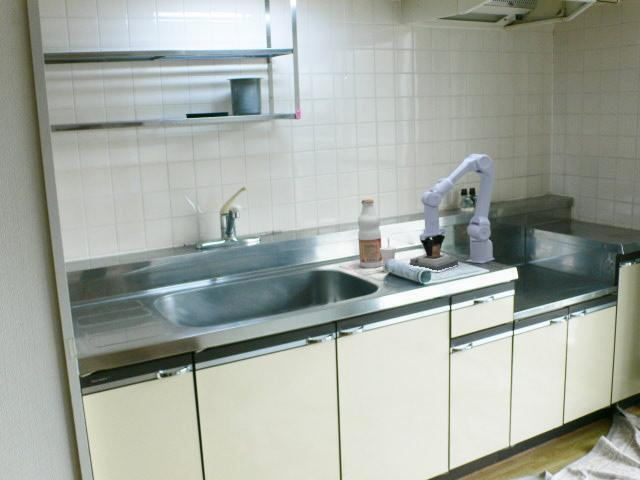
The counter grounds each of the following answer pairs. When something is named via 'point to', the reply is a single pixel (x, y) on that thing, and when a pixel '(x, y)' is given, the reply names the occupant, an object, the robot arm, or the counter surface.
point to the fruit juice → (369, 236)
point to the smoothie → (387, 253)
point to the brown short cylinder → (435, 251)
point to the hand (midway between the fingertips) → (433, 254)
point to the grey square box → (434, 262)
